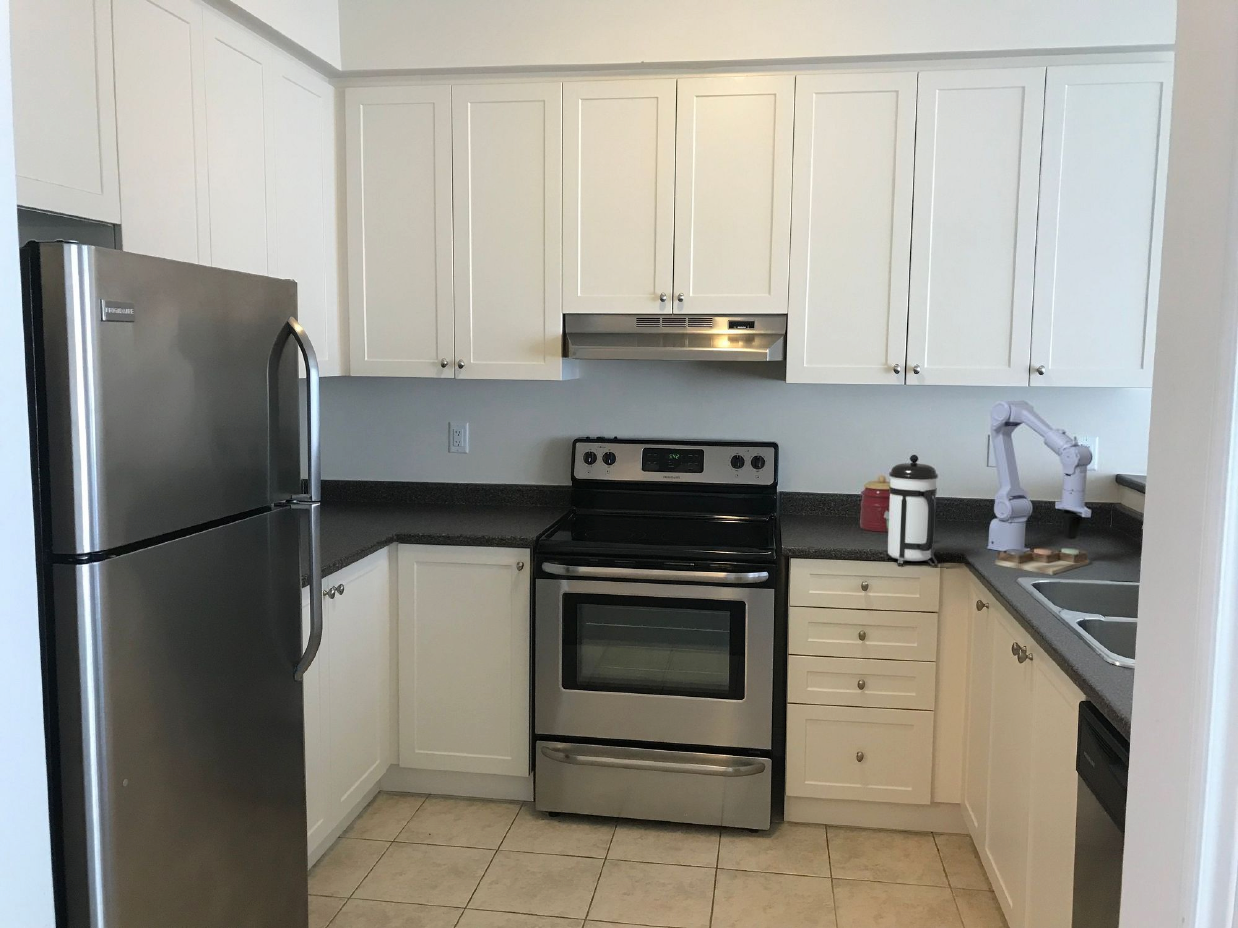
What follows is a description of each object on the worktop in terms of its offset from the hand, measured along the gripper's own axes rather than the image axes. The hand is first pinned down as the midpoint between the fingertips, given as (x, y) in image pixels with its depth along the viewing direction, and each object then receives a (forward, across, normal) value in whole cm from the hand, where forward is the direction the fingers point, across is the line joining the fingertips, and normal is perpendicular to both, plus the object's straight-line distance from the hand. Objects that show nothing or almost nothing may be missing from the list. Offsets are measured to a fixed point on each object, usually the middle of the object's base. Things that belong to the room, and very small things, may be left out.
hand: (1070, 538), depth 267 cm
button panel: (+7, 0, -8) cm, 11 cm away
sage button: (+6, 0, 0) cm, 6 cm away
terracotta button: (+6, 0, -8) cm, 10 cm away
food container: (+8, -27, -37) cm, 46 cm away
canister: (+8, -55, -34) cm, 65 cm away
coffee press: (+7, -3, -43) cm, 44 cm away
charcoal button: (+6, 0, -16) cm, 17 cm away
